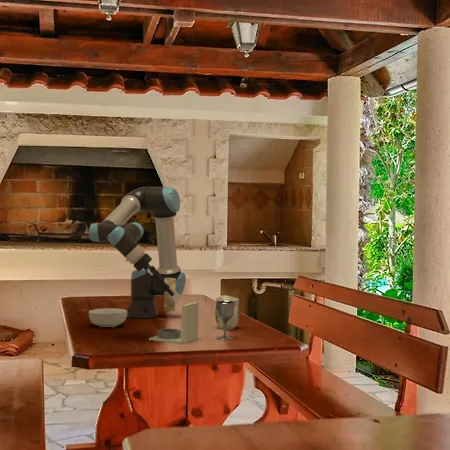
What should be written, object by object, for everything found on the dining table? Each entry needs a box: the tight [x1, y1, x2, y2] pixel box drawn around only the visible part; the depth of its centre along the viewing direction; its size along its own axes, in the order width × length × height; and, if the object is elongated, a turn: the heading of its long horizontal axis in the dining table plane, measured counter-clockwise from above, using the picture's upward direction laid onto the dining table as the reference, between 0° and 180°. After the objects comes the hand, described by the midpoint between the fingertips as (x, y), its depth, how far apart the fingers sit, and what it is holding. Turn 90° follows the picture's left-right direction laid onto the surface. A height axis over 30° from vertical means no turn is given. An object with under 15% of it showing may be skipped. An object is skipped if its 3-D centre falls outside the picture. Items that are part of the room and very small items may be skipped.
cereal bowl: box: [88, 307, 128, 328], centre depth 308 cm, size 17×17×7 cm
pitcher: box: [214, 294, 240, 331], centre depth 308 cm, size 11×18×14 cm, turn 10°
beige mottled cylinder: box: [163, 278, 176, 312], centre depth 280 cm, size 4×4×13 cm
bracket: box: [148, 301, 200, 345], centre depth 279 cm, size 16×12×15 cm
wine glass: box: [215, 300, 235, 341], centre depth 285 cm, size 8×8×15 cm
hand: (179, 300), depth 280 cm, fingers closed on beige mottled cylinder, 4 cm apart
